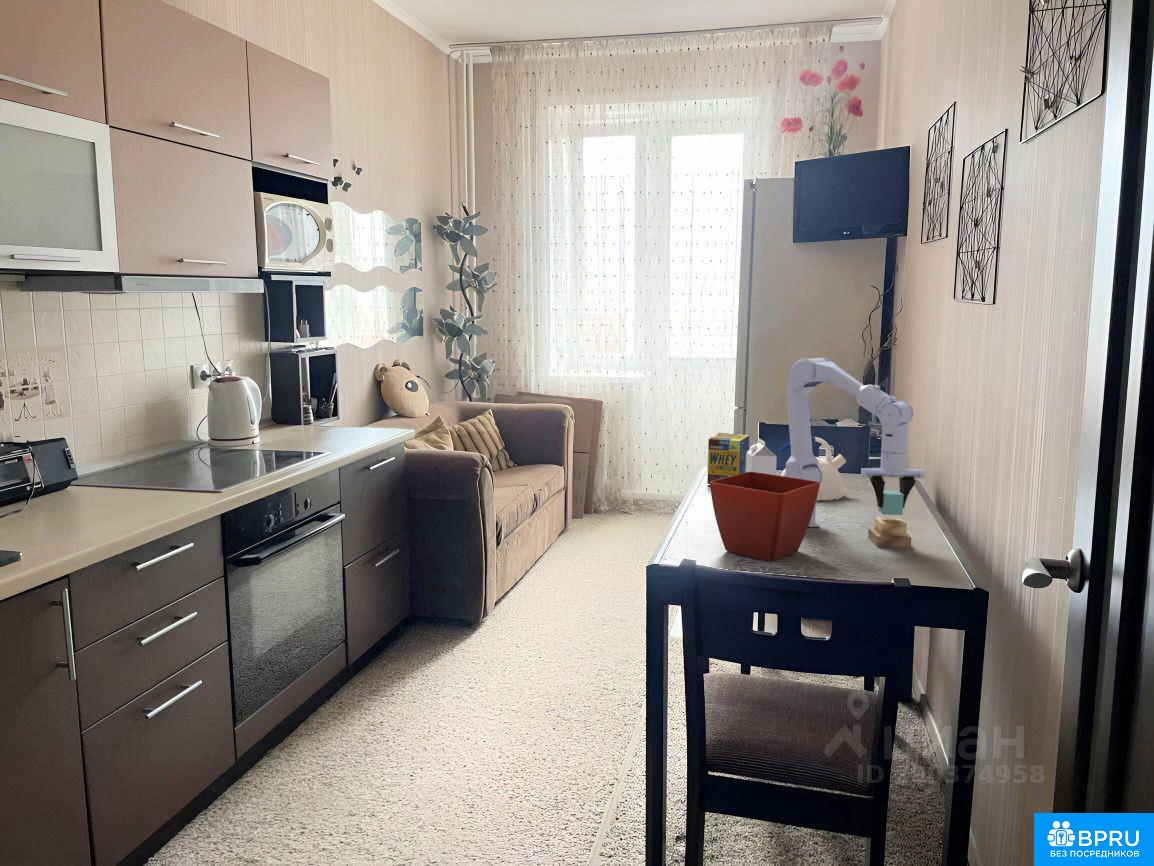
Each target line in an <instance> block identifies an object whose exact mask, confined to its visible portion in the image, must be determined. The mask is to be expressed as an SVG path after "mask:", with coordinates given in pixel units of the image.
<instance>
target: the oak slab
mask: <svg viewBox="0 0 1154 866" xmlns="http://www.w3.org/2000/svg"><path fill="white" fill-rule="evenodd" d="M907 524H908V523H906V522H905V521H904V520H903V519H902V518H901V517H878V516H877V517H874V528H875V530H876V531H877V532H878V533H879V534H880V535H881V536H906V533H907V528H908V527H907V526H908V525H907Z"/></svg>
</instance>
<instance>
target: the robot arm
mask: <svg viewBox="0 0 1154 866" xmlns="http://www.w3.org/2000/svg"><path fill="white" fill-rule="evenodd" d="M789 373H790V374H789V379H788V382H787V384H786V387H785V388H786V389H785V394H786V406H787V416H788V430H789V443H790V445H791V447H790V457H789V458H788V460H786V463H785V468H786V471H785V474H784V476H785V477H791V478H798V479H804V480H811V481H817V482H820V484H821V482H822V479H823V474H822V471H821V469H820V467H819V463H818V459H817V458H816V457H817V456H815V454H813V441H812V440H811V437H812V433H811V431H812V429H811V419H810V418H811V417H810V404H809V394H810V393H811V392H812V391H813V390H814V389H815V388H816V387H817V386H819V385H821V384H822V383H824V382H825V383H826V382H829V383H832V384H834V385H835V386H837V387H839V388H840V389H842V390H843V391H846V392H847V393H849V394H850V395H853V396H854V397H855V398H856V403H857V404H858V405H859V406H861V407H862V408H864V409H865V410H866V411H868V412H870V413H871V414H873V415H874V416H876V417H877V418H878V420H879V422H880V424H881V426H882V427H881V429H882V430H881V431H882V432H881V433H882V434H881V449H880V450H881V451H880V467H870V468H867V467H865V468H864V467H863V468H860V469H861V470H860V477H862V478H864V479H865V478H869V480H870V482H871V485H872V487H873V489H874V494H875V499H876V505H877V508H878V507H883V492H884V491H885V485H886V481H885V480H884V478H891V479H892V478H896V479H897V478H898V479H899V480H898V481H899V483H898V484H899V492H900V493H902V494H903V495H904V498H903V509H904V508H905V507H906V503H907V499H908V496H909V495H910V492H911V491H912V489H913V488H914V486H915V484H916V481H917V480H916V479H925V476H926V475H925V474H926V471H925V470H924V469H919V468H917V469H915V468H907V467H906V465H907V464H906V463H907V451H908V436H909V435H908V432H909V431H908V430H909V423H910V422H911V421H912V419H913V417H914V411H913V408H912V406H911V405H910V404H909V403H908V402H907V401H905V400H897V397H896V396H894V395H889V394H888V393H886V392H884V391H883V390H881V386H880V385H878V384H874V385H873V384H866V385H865V384H863V383H861V382H860V381H858V380H857V379H856V378H854V377H853V376H852V375H850V374H849V373H847V372H846V371H845V370H843V369H842V368H841V367H839V366H838V365H837V364H836V363H835V362H833V361H830V360H829V359H828V358H826V357H823V356H822V357H815V358H799V359H798V360H796V361H795V362H794V363H793V364H792V365H791V366H790V367H789ZM816 512H817V502H816V503H815V507H814V510H813V514H812V517H811V520H810V523H809V525H808V528H819V527H820V524H819V523H818V522H817V520H816V518H817V513H816Z"/></svg>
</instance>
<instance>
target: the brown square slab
mask: <svg viewBox="0 0 1154 866" xmlns="http://www.w3.org/2000/svg"><path fill="white" fill-rule="evenodd" d="M867 533H868V534H867V538H868V539H869V541H870V542H871V543H872V544H873V545H875V547H879V548H884V547H885V548H911V547H912V536H910V535H909V534H908V533H907V532H906V536H881V535H880V534H879V533H878V532H877V531H876V530H875V527H874V528H873V527H868V532H867Z"/></svg>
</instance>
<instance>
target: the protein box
mask: <svg viewBox="0 0 1154 866" xmlns="http://www.w3.org/2000/svg"><path fill="white" fill-rule="evenodd" d="M707 442H708V446H707V447H708V448H707V449H708V451H707V483H706V485H707V484H710V481H713V480H717V479H721V478H725V477H729V476H733V475H737V474H741V473H745V472H746V456H747V452H748V451H749V450H750V435H748V434H739V433H738V434H737V433H726V432H724V433H723V432H719V433H717V434H715V435H713V436H711V437H710V438H708V441H707Z"/></svg>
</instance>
